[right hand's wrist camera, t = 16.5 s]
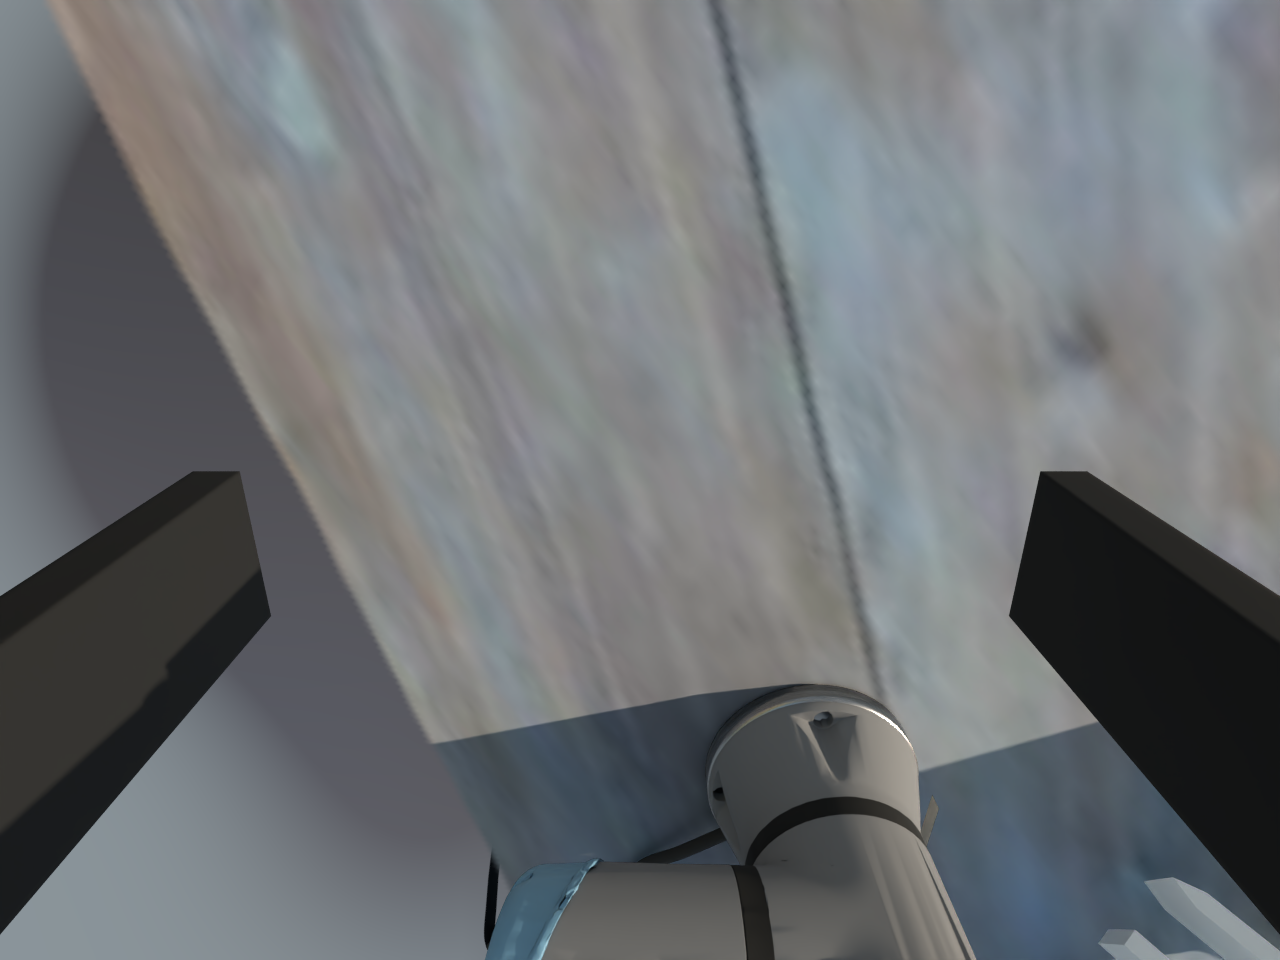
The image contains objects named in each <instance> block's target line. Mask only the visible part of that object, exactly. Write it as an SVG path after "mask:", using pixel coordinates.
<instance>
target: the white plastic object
mask: <svg viewBox="0 0 1280 960" xmlns="http://www.w3.org/2000/svg"><path fill="white" fill-rule="evenodd" d="M1144 883H1145V884H1146V885H1147V887H1148V888H1149V889H1150V891H1151V892H1152V893H1153V895H1154V896H1155V897H1156V899H1157V900H1158V901H1159V903H1160V904H1161V906H1162V907H1163V908H1164V910H1166V911H1167V912H1168V913H1169V914H1170V915H1172V916H1173V917H1174V918H1175V919H1176V920H1178V921H1179V922H1180V923H1181V924H1182V925H1184V926H1185V927H1186V928H1187V929H1188V930H1190V931H1191V932H1192V933H1193V934H1194V935H1196V936H1197V937H1198V938H1199V939H1201V940H1202V941H1203V942H1204V943H1205V944H1207V945H1208V946H1209V947H1210V948H1211V949H1213V950H1214V951H1215V952H1216V953H1217V954H1219V955H1220V956H1221V957H1222V958H1223V959H1225V960H1280V951H1279V950H1278V949H1277V948H1275V947H1274V946H1273V945H1272V944H1270V943H1269V942H1268V941H1267V940H1265V939H1264V938H1263V937H1262V936H1260V935H1259V934H1258V933H1257V932H1255V931H1254V930H1253V929H1252V928H1250V927H1249V926H1248V925H1247V924H1245V923H1244V922H1243V921H1242V920H1240V919H1239V918H1238V917H1237V916H1235V915H1234V914H1233V913H1232V912H1230V911H1229V910H1228V909H1227V908H1225V907H1224V906H1223V905H1222V904H1220V903H1219V902H1218V901H1217V900H1215V899H1214V898H1213V897H1212V896H1210V895H1209V894H1208V893H1206V892H1204V891H1202V890H1200V889H1197V888H1195V887H1193V886H1191V885H1189V884H1187V883H1184V882H1182V881H1180V880H1178V879H1176V878H1174V877H1170V878H1163V879H1156V880H1148V881H1144ZM1098 944H1100V945H1101V946H1102V947H1103V948H1104V949H1105V950H1106V951H1107V952H1108V953H1110V954H1111V955H1112V956H1113V957H1114V958H1115V959H1116V960H1170V959H1169V958H1168V957H1166V956H1165V955H1164V954H1163V953H1162V952H1161V951H1159V950H1158V949H1157V948H1156V947H1155V946H1154V945H1152V944H1151V943H1150V942H1149V941H1148V940H1147V939H1145V938H1144V937H1143V936H1142V935H1141V934H1140V933H1139V932H1137V931H1136V930H1128V929H1108V930H1107V932H1106V933H1105V935H1104V936H1103V937H1102V939H1101V940H1100V941H1099V943H1098Z"/></svg>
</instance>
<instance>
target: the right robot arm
mask: <svg viewBox="0 0 1280 960" xmlns="http://www.w3.org/2000/svg"><path fill="white" fill-rule="evenodd" d="M270 616H271V614H270V609H269V605H268V600H267V595H266V591H265V586H264V582H263V577H262V572H261V568H260V563H259V559H258V554H257V549H256V545H255V540H254V536H253V531H252V527H251V522H250V517H249V513H248V508H247V504H246V499H245V494H244V490H243V485H242V480H241V476H240V472H239V471H238V472H237V471H236V472H235V471H233V472H232V471H231V472H230V471H227V472H226V471H225V472H224V471H223V472H222V471H220V472H218V471H217V472H216V471H214V472H213V471H212V472H210V471H209V472H207V471H203V472H201V471H200V472H199V471H196V472H191V473H190V474H188V475H187V476H185V477H184V478H182V479H180V480H179V481H177V482H176V483H174V484H173V485H171V486H170V487H168V488H167V489H165V490H164V491H162V492H160V493H159V494H157V495H156V496H154V497H153V498H151V499H150V500H148V501H146V502H145V503H143V504H142V505H140V506H139V507H137V508H136V509H134V510H133V511H131V512H130V513H128V514H126V515H125V516H123V517H122V518H120V519H119V520H117V521H116V522H114V523H113V524H111V525H110V526H108V527H106V528H105V529H103V530H102V531H100V532H99V533H97V534H96V535H94V536H93V537H91V538H89V539H88V540H86V541H85V542H83V543H82V544H80V545H79V546H77V547H76V548H74V549H72V550H71V551H69V552H68V553H66V554H65V555H63V556H62V557H60V558H59V559H57V560H55V561H54V562H52V563H51V564H49V565H48V566H46V567H45V568H43V569H41V570H40V571H38V572H37V573H35V574H34V575H32V576H31V577H29V578H28V579H26V580H24V581H23V582H21V583H20V584H18V585H17V586H15V587H14V588H12V589H11V590H9V591H8V592H6V593H4V594H3V595H1V596H0V934H1V933H2V932H3V930H4V929H5V928H6V927H7V926H8V925H9V923H10V922H11V921H12V920H13V919H14V918H15V916H16V915H17V914H18V913H19V912H20V911H21V909H22V908H23V907H24V906H25V905H26V903H27V902H28V901H29V900H30V899H31V898H32V896H33V895H34V894H35V893H36V892H37V890H38V889H39V888H40V887H41V886H42V885H43V883H44V882H45V881H46V880H47V879H48V878H49V876H50V875H51V874H52V873H53V872H54V870H55V869H56V868H57V867H58V866H59V865H60V863H61V862H62V861H63V860H64V859H65V858H66V856H67V855H68V854H69V853H70V852H71V850H72V849H73V848H74V847H75V846H76V845H77V843H78V842H79V841H80V840H81V839H82V838H83V836H84V835H85V834H86V833H87V832H88V831H89V829H90V828H91V827H92V826H93V825H94V823H95V822H96V821H97V820H98V819H99V818H100V816H101V815H102V814H103V813H104V812H105V811H106V809H107V808H108V807H109V806H110V805H111V803H112V802H113V801H114V800H115V799H116V798H117V796H118V795H119V794H120V793H121V792H122V791H123V789H124V788H125V787H126V786H127V785H128V783H129V782H130V781H131V780H132V779H133V778H134V776H135V775H136V774H137V773H138V772H139V771H140V769H141V768H142V767H143V766H144V765H145V763H146V762H147V761H148V760H149V759H150V758H151V756H152V755H153V754H154V753H155V752H156V751H157V749H158V748H159V747H160V746H161V745H162V743H163V742H164V741H165V740H166V739H167V738H168V736H169V735H170V734H171V733H172V732H173V731H174V729H175V728H176V727H177V726H178V725H179V723H180V722H181V721H182V720H183V719H184V718H185V716H186V715H187V714H188V713H189V712H190V710H191V709H192V708H193V707H194V706H195V705H196V704H197V702H198V701H199V700H200V699H201V698H202V696H203V695H204V694H205V693H206V692H207V691H208V689H209V688H210V687H211V686H212V685H213V684H214V682H215V681H216V680H217V679H218V678H219V676H220V675H221V674H222V673H223V672H224V670H225V669H226V668H227V667H228V666H229V665H230V663H231V662H232V661H233V660H234V659H235V658H236V656H237V655H238V654H239V653H240V652H241V651H242V649H243V648H244V647H245V646H246V645H247V644H248V642H249V641H250V640H251V639H252V638H253V636H254V635H255V634H256V633H257V632H258V631H259V629H260V628H261V627H262V626H263V625H264V624H265V622H266V621H267V620H268V619H269V618H270ZM1009 616H1010V618H1011V619H1012V620H1013V621H1014V622H1015V624H1016V625H1017V626H1018V627H1019V628H1020V629H1021V631H1022V632H1023V633H1024V634H1025V635H1026V636H1027V638H1028V639H1029V640H1030V641H1031V642H1032V644H1033V645H1034V646H1035V647H1036V648H1037V649H1038V651H1039V652H1040V653H1041V654H1042V655H1043V656H1044V658H1045V659H1046V660H1047V661H1048V662H1049V664H1050V665H1051V666H1052V667H1053V668H1054V669H1055V671H1056V672H1057V673H1058V674H1059V675H1060V676H1061V678H1062V679H1063V680H1064V681H1065V682H1066V684H1067V685H1068V686H1069V687H1070V688H1071V689H1072V691H1073V692H1074V693H1075V694H1076V695H1077V696H1078V698H1079V699H1080V700H1081V701H1082V702H1083V704H1084V705H1085V706H1086V707H1087V708H1088V709H1089V711H1090V712H1091V713H1092V714H1093V715H1094V716H1095V718H1096V719H1097V720H1098V721H1099V722H1100V724H1101V725H1102V726H1103V727H1104V728H1105V729H1106V731H1107V732H1108V733H1109V734H1110V735H1111V736H1112V738H1113V739H1114V740H1115V741H1116V742H1117V744H1118V745H1119V746H1120V747H1121V748H1122V749H1123V751H1124V752H1125V753H1126V754H1127V755H1128V756H1129V758H1130V759H1131V760H1132V761H1133V762H1134V764H1135V765H1136V766H1137V767H1138V768H1139V769H1140V771H1141V772H1142V773H1143V774H1144V775H1145V776H1146V778H1147V779H1148V780H1149V781H1150V782H1151V783H1152V785H1153V786H1154V787H1155V788H1156V789H1157V791H1158V792H1159V793H1160V794H1161V795H1162V796H1163V798H1164V799H1165V800H1166V801H1167V802H1168V803H1169V805H1170V806H1171V807H1172V808H1173V809H1174V811H1175V812H1176V813H1177V814H1178V815H1179V816H1180V818H1181V819H1182V820H1183V821H1184V822H1185V823H1186V825H1187V826H1188V827H1189V828H1190V829H1191V831H1192V832H1193V833H1194V834H1195V835H1196V836H1197V838H1198V839H1199V840H1200V841H1201V842H1202V843H1203V845H1204V846H1205V847H1206V848H1207V849H1208V851H1209V852H1210V853H1211V854H1212V855H1213V856H1214V858H1215V859H1216V860H1217V861H1218V862H1219V863H1220V865H1221V866H1222V867H1223V868H1224V869H1225V871H1226V872H1227V873H1228V874H1229V875H1230V876H1231V878H1232V879H1233V880H1234V881H1235V882H1236V883H1237V885H1238V886H1239V887H1240V888H1241V889H1242V891H1243V892H1244V893H1245V894H1246V895H1247V896H1248V898H1249V899H1250V900H1251V901H1252V902H1253V903H1254V905H1255V906H1256V907H1257V908H1258V909H1259V911H1260V912H1261V913H1262V914H1263V915H1264V916H1265V918H1266V919H1267V920H1268V921H1269V922H1270V923H1271V925H1272V926H1273V927H1274V928H1275V929H1276V931H1277V932H1278V933H1279V934H1280V596H1279V595H1277V594H1276V593H1274V592H1273V591H1271V590H1269V589H1268V588H1266V587H1265V586H1263V585H1262V584H1260V583H1259V582H1257V581H1256V580H1254V579H1252V578H1251V577H1249V576H1248V575H1246V574H1245V573H1243V572H1242V571H1240V570H1239V569H1237V568H1235V567H1234V566H1232V565H1231V564H1229V563H1228V562H1226V561H1225V560H1223V559H1222V558H1220V557H1218V556H1217V555H1215V554H1214V553H1212V552H1211V551H1209V550H1208V549H1206V548H1205V547H1203V546H1201V545H1200V544H1198V543H1197V542H1195V541H1194V540H1192V539H1191V538H1189V537H1188V536H1186V535H1184V534H1183V533H1181V532H1180V531H1178V530H1177V529H1175V528H1174V527H1172V526H1171V525H1169V524H1167V523H1166V522H1164V521H1163V520H1161V519H1160V518H1158V517H1157V516H1155V515H1154V514H1152V513H1151V512H1149V511H1147V510H1146V509H1144V508H1143V507H1141V506H1140V505H1138V504H1137V503H1135V502H1134V501H1132V500H1130V499H1129V498H1127V497H1126V496H1124V495H1123V494H1121V493H1120V492H1118V491H1117V490H1115V489H1113V488H1112V487H1110V486H1109V485H1107V484H1106V483H1104V482H1103V481H1101V480H1100V479H1098V478H1096V477H1095V476H1093V475H1092V474H1090V473H1089V472H1087V471H1040V476H1039V480H1038V485H1037V490H1036V494H1035V499H1034V503H1033V508H1032V513H1031V517H1030V522H1029V526H1028V531H1027V536H1026V540H1025V545H1024V549H1023V554H1022V559H1021V563H1020V568H1019V572H1018V577H1017V582H1016V586H1015V591H1014V595H1013V600H1012V605H1011V609H1010V614H1009ZM706 784H707V793H708V800H709V805H710V808H711V811H712V813H713V816H714V818H715V819H716V821H717V823H718V825H719V827H720V828H719V829H716V830H714V831H712V832H709V833H707V834H705V835H703V836H700V837H698V838H696V839H694V840H691V841H689V842H687V843H684V844H682V845H679V846H677V847H674V848H671V849H668V850H665V851H661V852H658V853H655V854H652V855H650V856H648V857H645V858H644V859H642V860H640V861H639V862H637V863H630V862H604V861H603V860H601V859H597V858H595V859H592V860H590V861H587V862H582V863H559V864H542V865H538V866H535V867H533V868H531V869H529V870H528V871H526V872H525V873H524V874H523V875H522V876H521V877H520V878H519V879H518V880H517V881H516V883H515V884H514V886H513V887H512V889H511V891H510V893H509V894H508V896H507V898H506V900H505V902H504V905H503V907H502V909H501V912H500V914H499V917H498V919H497V922H496V925H495V921H496V909H497V893H498V877H499V866H498V864H497V863H496V860H495V859H494V857H493V855H492V853H491V858H490V866H489V875H488V886H487V898H486V910H485V921H484V941H485V945H486V948H487V950H488V951H487V955H486V958H485V960H976V957H975V955H974V953H973V951H972V948H971V946H970V944H969V942H968V939H967V937H966V935H965V932H964V930H963V928H962V926H961V923H960V921H959V919H958V917H957V914H956V912H955V910H954V908H953V905H952V903H951V901H950V898H949V896H948V894H947V892H946V889H945V887H944V885H943V883H942V880H941V878H940V876H939V874H938V871H937V869H936V867H935V864H934V862H933V860H932V858H931V855H930V853H929V852H928V849H927V844H928V841H929V837H930V834H931V831H932V828H933V825H934V822H935V819H936V816H937V813H938V810H939V808H938V806H937V804H936V802H935V800H934V798H933V795H932V797H931V801H930V804H929V807H928V810H927V813H926V816H925V819H924V823H923V826H922V829H921V828H920V800H919V774H918V763H917V759H916V756H915V753H914V751H913V748H912V746H911V744H910V742H909V740H908V738H907V736H906V734H905V731H904V730H903V728H902V726H901V724H900V723H899V721H898V720H897V719H896V718H895V716H894V715H893V714H892V713H891V712H890V711H889V710H888V709H887V708H885V707H884V706H883V705H882V704H880V703H879V702H877V701H876V700H874V699H872V698H870V697H868V696H867V695H864V694H862V693H859V692H857V691H854V690H850V689H847V688H842V687H838V686H830V685H803V686H795V687H790V688H785V689H782V690H778V691H775V692H772V693H770V694H767V695H764V696H762V697H760V698H758V699H756V700H754V701H752V702H751V703H749V704H747V705H746V706H744V707H743V708H742V709H740V710H739V711H738V712H736V713H735V714H734V715H733V716H732V717H731V718H730V719H729V720H728V721H727V722H726V723H725V724H724V725H723V727H722V728H721V729H720V730H719V732H718V733H717V735H716V737H715V738H714V740H713V742H712V744H711V747H710V749H709V752H708V756H707V760H706ZM726 840H727V841H728V843H729V845H730V847H731V848H732V850H733V852H734V854H735V856H736V857H737V859H738V861H739V863H740V865H719V864H668V863H672V862H675V861H678V860H681V859H684V858H686V857H689V856H691V855H693V854H696V853H698V852H700V851H703V850H705V849H707V848H710V847H712V846H714V845H717V844H719V843H721V842H724V841H726Z"/></svg>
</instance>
